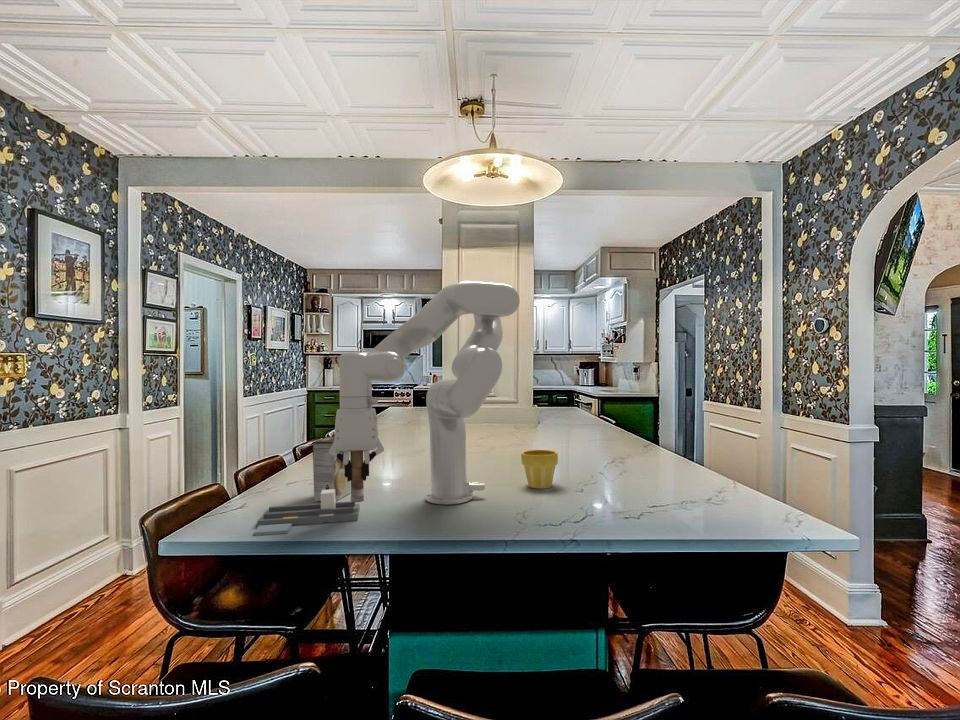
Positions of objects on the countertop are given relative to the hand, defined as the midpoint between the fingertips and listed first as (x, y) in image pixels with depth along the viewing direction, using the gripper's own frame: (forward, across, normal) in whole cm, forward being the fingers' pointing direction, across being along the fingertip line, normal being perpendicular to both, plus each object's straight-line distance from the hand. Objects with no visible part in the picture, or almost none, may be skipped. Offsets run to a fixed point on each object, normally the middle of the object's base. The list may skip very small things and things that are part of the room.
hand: (357, 479), depth 126 cm
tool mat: (+9, +18, +7) cm, 21 cm away
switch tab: (+7, +7, 0) cm, 10 cm away
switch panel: (+9, +11, 0) cm, 14 cm away
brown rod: (+5, 0, 0) cm, 5 cm away
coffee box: (+9, +8, -18) cm, 22 cm away
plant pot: (+8, -50, -16) cm, 53 cm away
